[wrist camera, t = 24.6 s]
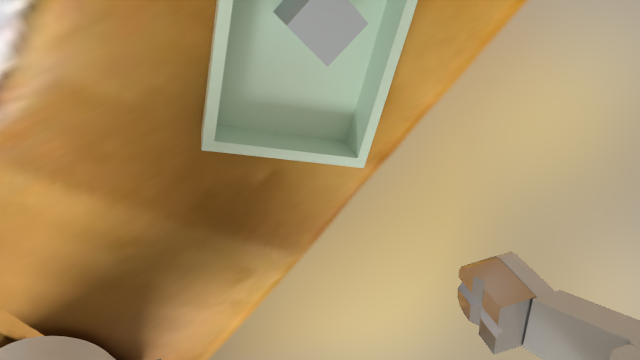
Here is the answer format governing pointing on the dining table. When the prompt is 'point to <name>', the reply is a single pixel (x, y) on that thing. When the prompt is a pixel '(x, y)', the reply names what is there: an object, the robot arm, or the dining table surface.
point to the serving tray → (298, 84)
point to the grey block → (322, 24)
